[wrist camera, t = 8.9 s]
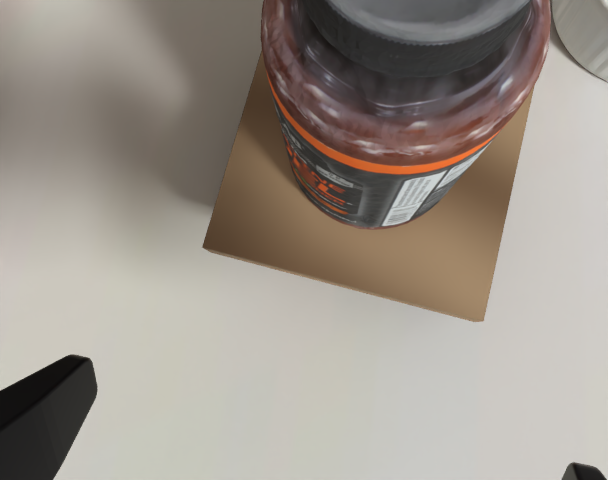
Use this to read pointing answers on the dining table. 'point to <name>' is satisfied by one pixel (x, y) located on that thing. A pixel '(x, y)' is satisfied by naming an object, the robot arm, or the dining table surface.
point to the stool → (362, 242)
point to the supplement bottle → (396, 95)
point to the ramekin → (584, 32)
